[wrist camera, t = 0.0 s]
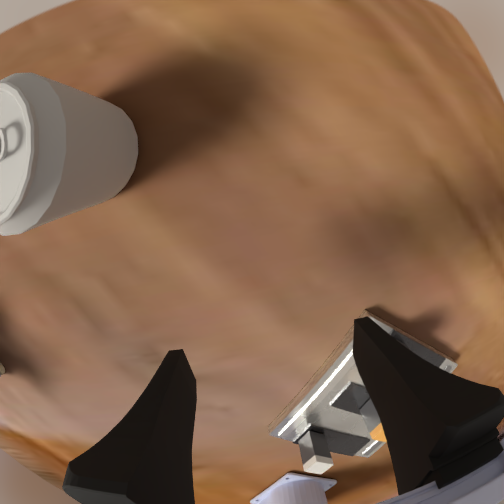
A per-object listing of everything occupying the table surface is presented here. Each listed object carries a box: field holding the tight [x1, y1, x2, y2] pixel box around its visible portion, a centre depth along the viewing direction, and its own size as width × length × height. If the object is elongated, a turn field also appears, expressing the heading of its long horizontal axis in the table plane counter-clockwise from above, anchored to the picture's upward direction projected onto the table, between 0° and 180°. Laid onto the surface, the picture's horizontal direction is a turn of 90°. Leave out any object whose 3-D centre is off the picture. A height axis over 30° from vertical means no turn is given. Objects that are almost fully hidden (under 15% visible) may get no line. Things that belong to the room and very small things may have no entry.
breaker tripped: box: [360, 398, 387, 442], centre depth 23 cm, size 2×2×4 cm
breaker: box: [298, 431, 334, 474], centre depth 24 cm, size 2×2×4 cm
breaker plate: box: [268, 310, 458, 458], centre depth 26 cm, size 15×14×1 cm
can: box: [0, 73, 138, 236], centre depth 14 cm, size 8×8×12 cm
